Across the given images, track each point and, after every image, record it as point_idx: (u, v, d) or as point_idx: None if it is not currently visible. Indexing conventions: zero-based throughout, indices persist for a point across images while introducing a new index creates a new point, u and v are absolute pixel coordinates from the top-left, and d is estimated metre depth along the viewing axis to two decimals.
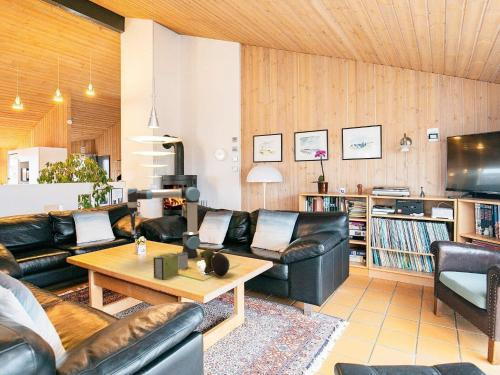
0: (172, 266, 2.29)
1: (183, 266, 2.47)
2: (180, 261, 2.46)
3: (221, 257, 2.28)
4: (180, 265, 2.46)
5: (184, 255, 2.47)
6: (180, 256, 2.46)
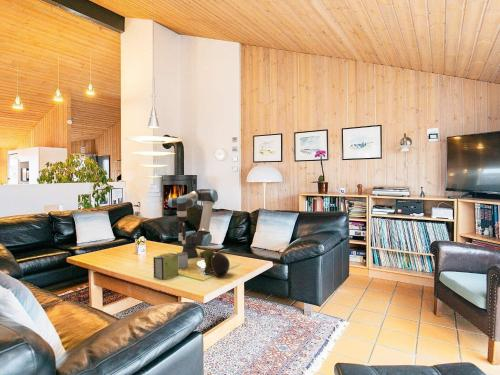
0: (172, 266, 2.29)
1: (183, 266, 2.47)
2: (180, 261, 2.46)
3: (221, 257, 2.28)
4: (180, 265, 2.46)
5: (184, 255, 2.47)
6: (180, 256, 2.46)
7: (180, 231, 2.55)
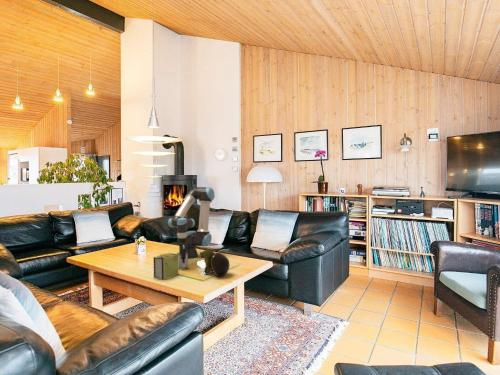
0: (172, 266, 2.29)
1: None
2: (180, 261, 2.46)
3: (221, 257, 2.28)
4: (180, 265, 2.46)
5: None
6: (180, 256, 2.46)
7: None
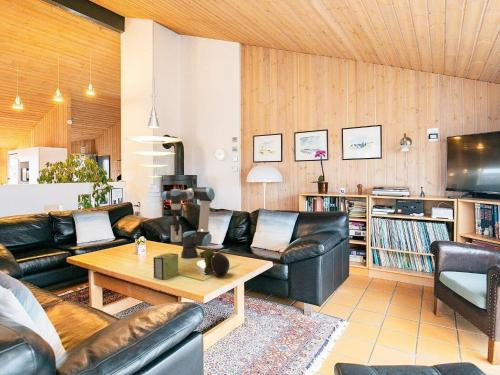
0: (172, 266, 2.29)
1: (176, 239, 2.39)
2: (173, 233, 2.38)
3: (221, 257, 2.28)
4: (173, 237, 2.38)
5: None
6: (173, 228, 2.38)
7: None
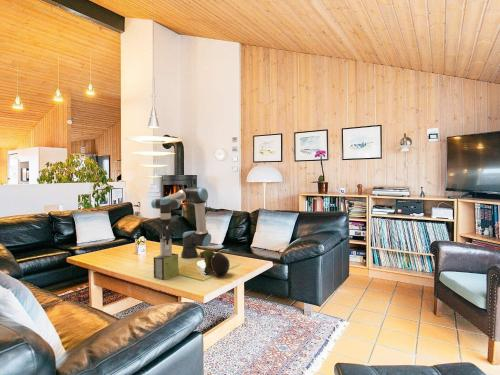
0: (172, 266, 2.29)
1: (166, 253, 2.27)
2: (163, 248, 2.26)
3: (221, 257, 2.28)
4: (163, 252, 2.26)
5: None
6: (163, 242, 2.26)
7: (164, 235, 2.36)
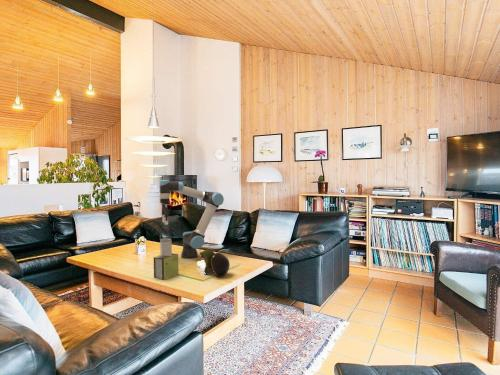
0: (172, 266, 2.29)
1: (166, 253, 2.27)
2: (163, 248, 2.26)
3: (221, 257, 2.28)
4: (163, 252, 2.26)
5: (167, 241, 2.27)
6: (163, 242, 2.26)
7: (163, 213, 2.65)
